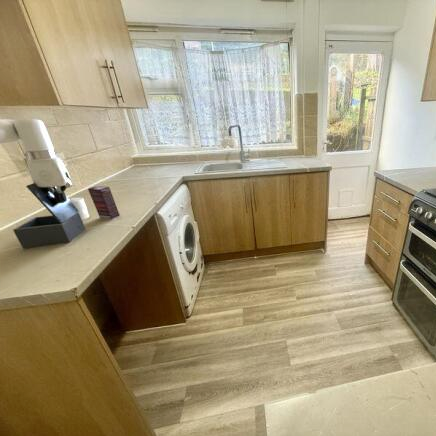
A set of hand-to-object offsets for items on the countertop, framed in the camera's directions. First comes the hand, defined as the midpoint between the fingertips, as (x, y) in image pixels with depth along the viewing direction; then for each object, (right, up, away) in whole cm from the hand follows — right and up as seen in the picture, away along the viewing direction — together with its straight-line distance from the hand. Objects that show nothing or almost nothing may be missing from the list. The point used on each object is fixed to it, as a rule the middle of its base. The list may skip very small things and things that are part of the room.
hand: (62, 202), depth 97 cm
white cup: (-14, -7, +25) cm, 30 cm away
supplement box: (+1, -6, +25) cm, 26 cm away
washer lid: (-2, +1, -1) cm, 3 cm away
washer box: (-7, -15, +5) cm, 17 cm away
